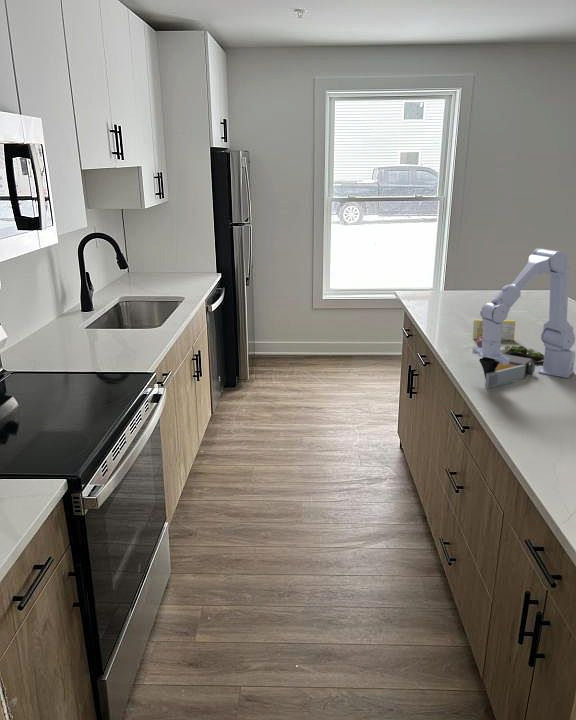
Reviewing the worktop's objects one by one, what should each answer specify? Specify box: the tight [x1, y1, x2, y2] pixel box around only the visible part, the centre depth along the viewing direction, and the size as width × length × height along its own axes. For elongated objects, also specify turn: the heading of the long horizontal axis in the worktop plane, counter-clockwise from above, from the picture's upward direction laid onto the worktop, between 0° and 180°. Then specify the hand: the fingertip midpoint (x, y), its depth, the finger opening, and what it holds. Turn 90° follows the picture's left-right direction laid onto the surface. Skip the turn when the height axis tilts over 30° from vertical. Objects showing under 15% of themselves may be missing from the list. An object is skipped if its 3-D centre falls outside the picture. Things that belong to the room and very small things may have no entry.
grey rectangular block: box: [495, 354, 536, 378], centre depth 205 cm, size 13×7×5 cm, turn 51°
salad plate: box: [500, 344, 545, 366], centre depth 221 cm, size 19×18×5 cm
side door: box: [484, 364, 526, 389], centre depth 195 cm, size 17×2×5 cm, turn 117°
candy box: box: [472, 319, 516, 342], centre depth 243 cm, size 16×2×8 cm, turn 74°
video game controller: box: [476, 336, 483, 348], centre depth 230 cm, size 10×5×7 cm, turn 141°
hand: (488, 379), depth 194 cm, fingers closed
